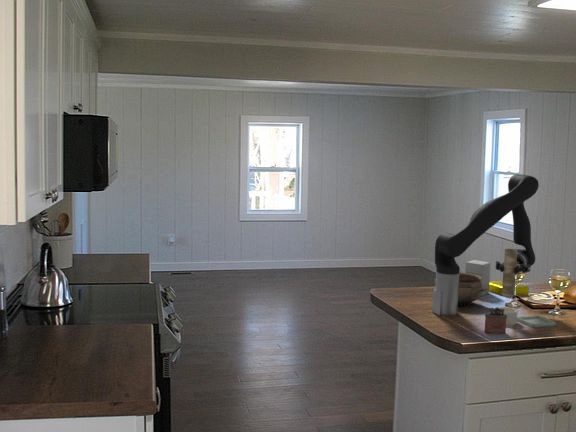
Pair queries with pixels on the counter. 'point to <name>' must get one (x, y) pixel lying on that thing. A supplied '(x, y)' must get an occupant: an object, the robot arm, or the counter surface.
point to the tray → (536, 321)
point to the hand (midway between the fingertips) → (508, 270)
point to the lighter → (495, 321)
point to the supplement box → (480, 272)
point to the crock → (510, 315)
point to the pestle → (509, 272)
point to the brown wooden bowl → (469, 288)
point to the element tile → (497, 288)
